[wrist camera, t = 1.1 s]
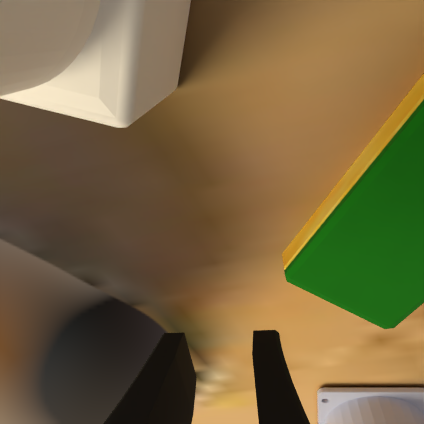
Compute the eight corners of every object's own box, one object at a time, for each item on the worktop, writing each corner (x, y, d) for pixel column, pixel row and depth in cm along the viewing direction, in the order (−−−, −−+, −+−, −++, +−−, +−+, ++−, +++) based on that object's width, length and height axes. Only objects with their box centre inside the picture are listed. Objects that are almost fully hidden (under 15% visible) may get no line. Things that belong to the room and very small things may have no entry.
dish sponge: (595, 98, 14) (656, 110, 12) (376, 302, 21) (390, 333, 19) (466, 11, 13) (506, 8, 11) (278, 253, 20) (281, 280, 18)
